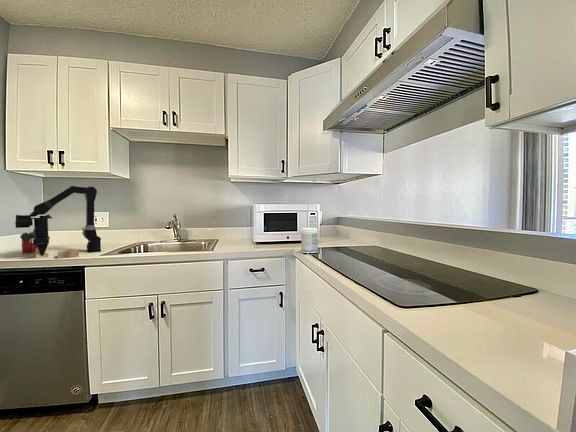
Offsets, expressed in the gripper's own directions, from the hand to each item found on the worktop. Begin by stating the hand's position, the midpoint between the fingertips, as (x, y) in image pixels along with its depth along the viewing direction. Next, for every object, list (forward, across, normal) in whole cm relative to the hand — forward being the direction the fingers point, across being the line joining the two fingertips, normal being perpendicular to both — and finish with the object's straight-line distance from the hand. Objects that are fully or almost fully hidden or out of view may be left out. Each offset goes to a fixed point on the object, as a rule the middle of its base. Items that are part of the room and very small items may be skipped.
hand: (42, 254), depth 154 cm
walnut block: (+2, +9, +11) cm, 14 cm away
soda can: (+1, -20, -6) cm, 21 cm away
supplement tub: (+1, +89, +120) cm, 149 cm away
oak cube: (+1, 0, 0) cm, 1 cm away
